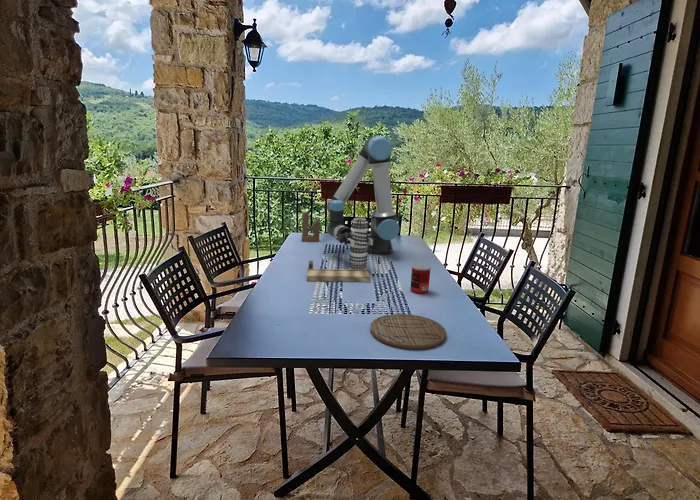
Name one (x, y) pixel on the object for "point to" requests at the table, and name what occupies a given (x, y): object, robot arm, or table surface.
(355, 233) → the decorative candle
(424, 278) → the canned food
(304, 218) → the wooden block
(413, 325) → the trivet
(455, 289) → the table surface
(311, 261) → the brown flat block
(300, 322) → the table surface
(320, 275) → the oak board
